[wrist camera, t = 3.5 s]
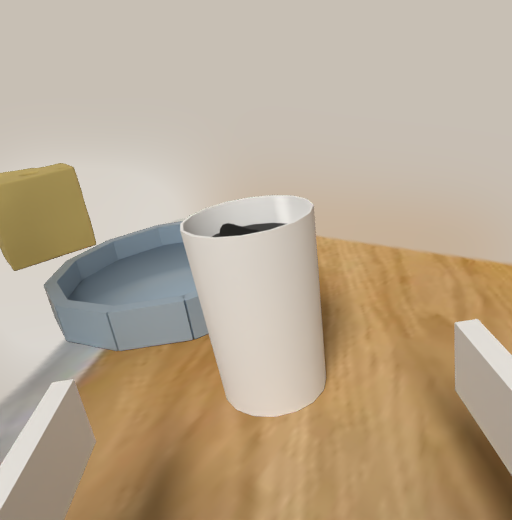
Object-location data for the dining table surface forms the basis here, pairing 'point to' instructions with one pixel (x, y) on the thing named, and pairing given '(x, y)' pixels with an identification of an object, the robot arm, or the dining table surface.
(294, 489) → the dining table surface
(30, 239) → the cheese
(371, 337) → the dining table surface
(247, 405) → the white coffee cup
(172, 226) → the blue round tray
